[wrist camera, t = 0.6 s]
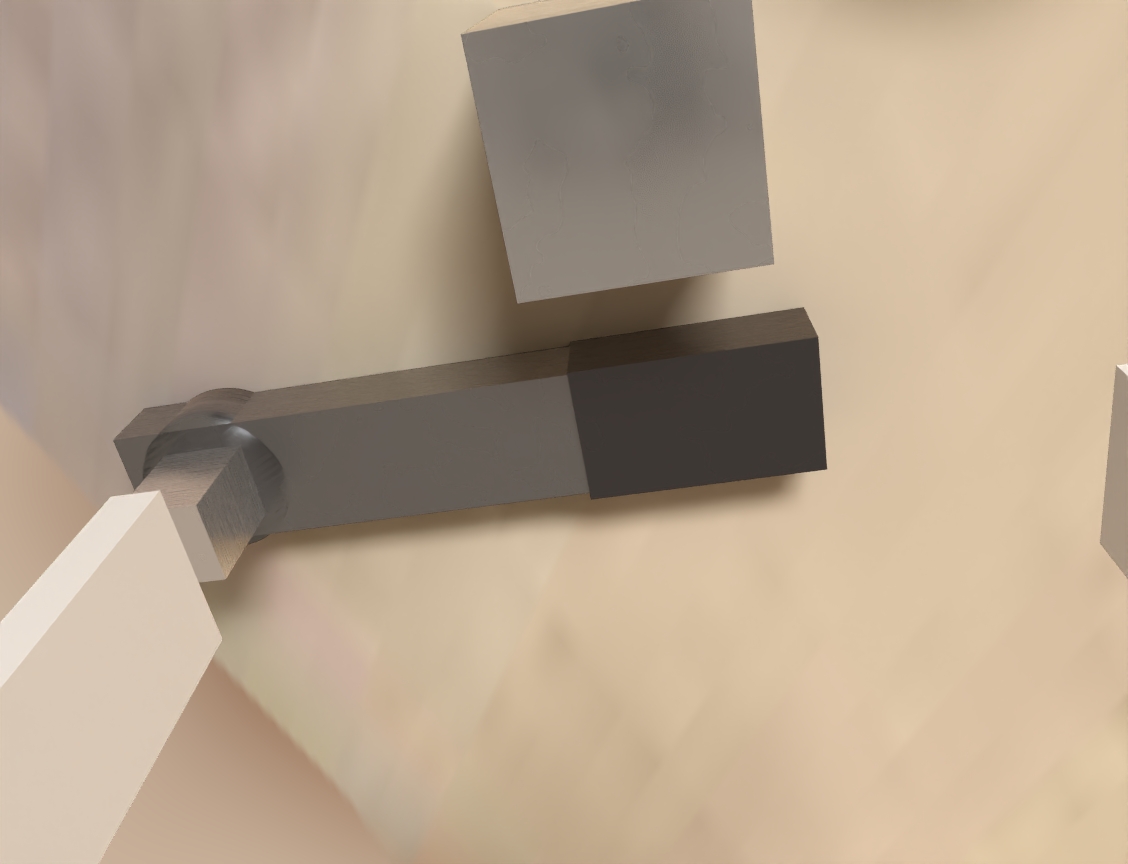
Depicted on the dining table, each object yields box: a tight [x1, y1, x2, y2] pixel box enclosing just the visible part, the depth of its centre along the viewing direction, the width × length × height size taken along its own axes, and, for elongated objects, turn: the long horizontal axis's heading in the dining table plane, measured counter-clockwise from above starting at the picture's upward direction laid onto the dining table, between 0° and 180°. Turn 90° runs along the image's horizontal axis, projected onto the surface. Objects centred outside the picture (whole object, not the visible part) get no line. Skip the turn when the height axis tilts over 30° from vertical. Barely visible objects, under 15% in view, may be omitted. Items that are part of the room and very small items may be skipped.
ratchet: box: [113, 307, 827, 583], centre depth 33 cm, size 24×5×6 cm, turn 100°
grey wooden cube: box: [461, 0, 774, 304], centre depth 27 cm, size 6×6×8 cm
